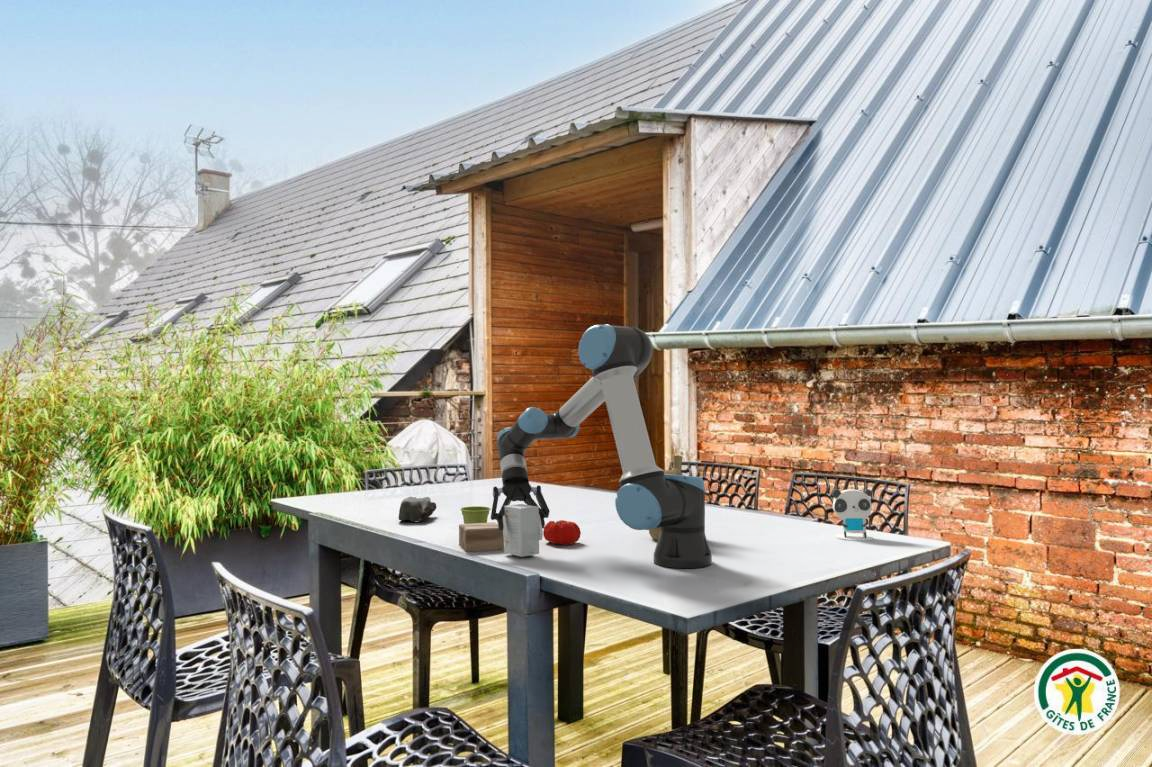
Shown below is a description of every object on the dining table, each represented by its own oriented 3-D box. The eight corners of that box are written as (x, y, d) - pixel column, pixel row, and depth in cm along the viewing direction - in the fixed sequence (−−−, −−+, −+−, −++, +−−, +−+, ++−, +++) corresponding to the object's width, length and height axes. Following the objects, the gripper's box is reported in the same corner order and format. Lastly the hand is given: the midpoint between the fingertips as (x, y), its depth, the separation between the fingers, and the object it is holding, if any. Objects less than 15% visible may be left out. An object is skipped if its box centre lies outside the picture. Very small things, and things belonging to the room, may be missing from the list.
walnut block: (504, 549, 233) (504, 527, 233) (465, 551, 230) (465, 529, 230) (495, 542, 243) (495, 522, 244) (459, 545, 240) (459, 523, 240)
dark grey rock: (429, 524, 279) (429, 501, 279) (396, 524, 279) (396, 501, 279) (438, 516, 297) (438, 494, 297) (407, 516, 297) (407, 494, 297)
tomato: (560, 539, 250) (560, 517, 250) (586, 543, 242) (586, 521, 243) (536, 543, 243) (536, 521, 244) (562, 548, 236) (562, 525, 236)
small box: (539, 554, 223) (539, 506, 223) (520, 557, 219) (520, 508, 219) (522, 550, 229) (522, 503, 229) (503, 552, 225) (503, 505, 225)
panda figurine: (835, 540, 247) (834, 490, 248) (829, 534, 258) (829, 486, 259) (876, 541, 245) (876, 491, 246) (869, 535, 257) (868, 487, 257)
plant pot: (496, 535, 257) (496, 507, 257) (477, 539, 249) (477, 511, 249) (473, 532, 262) (473, 505, 262) (454, 537, 254) (454, 509, 254)
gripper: (549, 480, 241) (560, 544, 226) (476, 482, 237) (482, 547, 221) (552, 464, 236) (564, 528, 221) (478, 466, 232) (484, 531, 216)
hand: (523, 537), depth 221 cm, fingers closed on small box, 9 cm apart
